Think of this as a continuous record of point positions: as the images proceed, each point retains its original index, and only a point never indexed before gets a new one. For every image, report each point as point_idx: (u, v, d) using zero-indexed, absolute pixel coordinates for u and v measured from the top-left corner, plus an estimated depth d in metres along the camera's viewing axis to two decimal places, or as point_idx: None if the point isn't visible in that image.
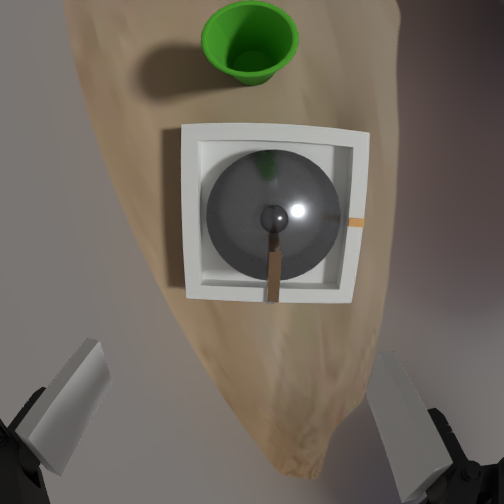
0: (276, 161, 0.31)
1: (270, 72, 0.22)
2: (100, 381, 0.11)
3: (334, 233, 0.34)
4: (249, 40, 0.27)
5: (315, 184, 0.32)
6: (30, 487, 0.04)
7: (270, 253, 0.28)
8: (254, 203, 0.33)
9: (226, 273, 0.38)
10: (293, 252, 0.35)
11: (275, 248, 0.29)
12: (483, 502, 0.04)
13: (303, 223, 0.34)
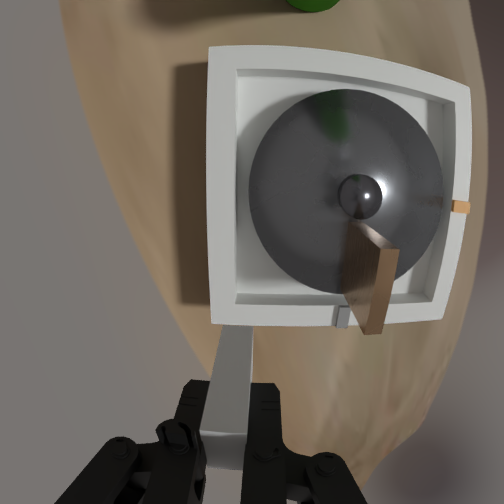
0: (361, 108, 0.18)
1: None
2: None
3: (435, 221, 0.20)
4: None
5: (414, 147, 0.18)
6: None
7: (381, 251, 0.14)
8: (328, 170, 0.19)
9: (274, 283, 0.24)
10: None
11: (383, 243, 0.15)
12: None
13: (398, 205, 0.20)
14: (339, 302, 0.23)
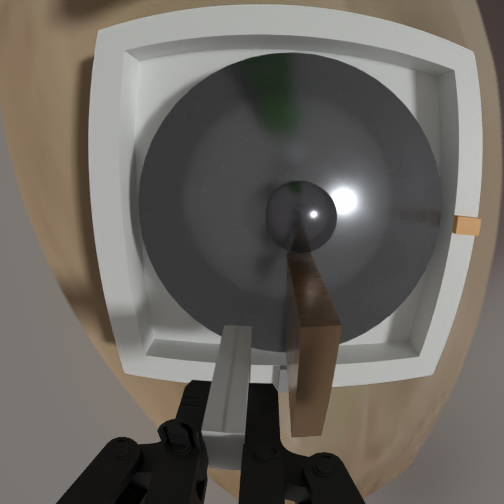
0: (296, 78, 0.11)
1: None
2: None
3: (429, 244, 0.14)
4: None
5: (390, 131, 0.12)
6: None
7: (303, 331, 0.08)
8: (248, 180, 0.13)
9: (197, 330, 0.18)
10: (345, 292, 0.15)
11: (317, 308, 0.09)
12: None
13: (368, 224, 0.13)
14: (282, 360, 0.17)
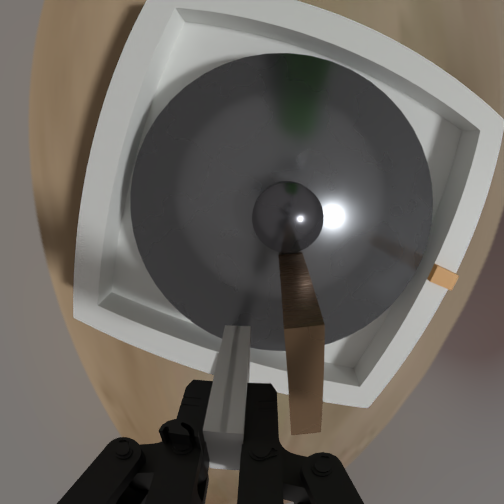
0: (271, 79, 0.12)
1: None
2: None
3: (423, 232, 0.13)
4: None
5: (372, 122, 0.12)
6: None
7: (287, 332, 0.08)
8: (233, 185, 0.13)
9: (154, 296, 0.18)
10: (340, 287, 0.15)
11: (302, 308, 0.09)
12: None
13: (357, 218, 0.13)
14: None
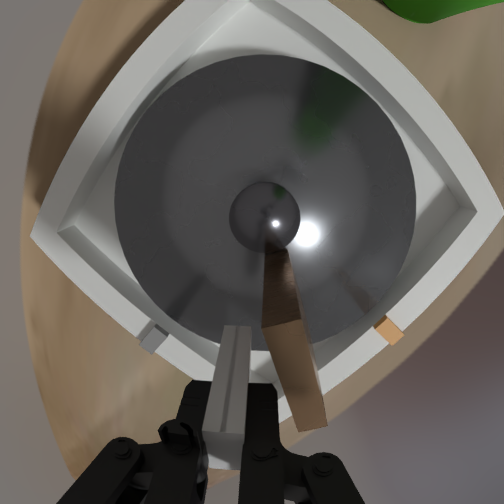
0: (225, 86, 0.12)
1: None
2: None
3: (409, 207, 0.13)
4: None
5: (333, 106, 0.12)
6: None
7: (266, 331, 0.08)
8: (208, 196, 0.14)
9: (111, 244, 0.17)
10: (333, 277, 0.15)
11: (281, 306, 0.09)
12: None
13: (337, 205, 0.13)
14: (161, 320, 0.17)
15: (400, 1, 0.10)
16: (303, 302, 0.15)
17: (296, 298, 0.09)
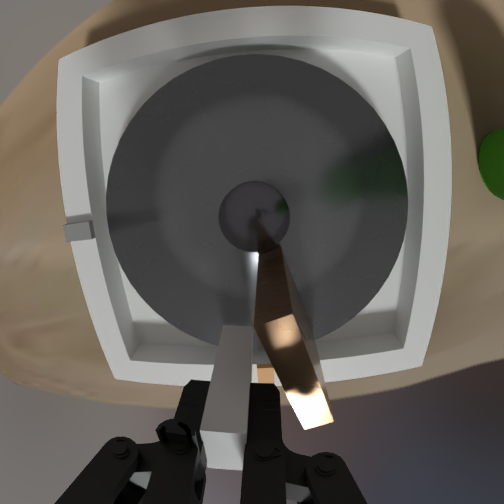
0: (204, 90, 0.12)
1: None
2: None
3: (400, 193, 0.13)
4: None
5: (313, 99, 0.12)
6: None
7: (258, 329, 0.08)
8: (197, 200, 0.14)
9: (113, 125, 0.14)
10: (330, 271, 0.14)
11: (273, 302, 0.09)
12: None
13: (326, 198, 0.13)
14: (97, 221, 0.15)
15: (492, 163, 0.13)
16: (302, 298, 0.15)
17: (288, 294, 0.09)
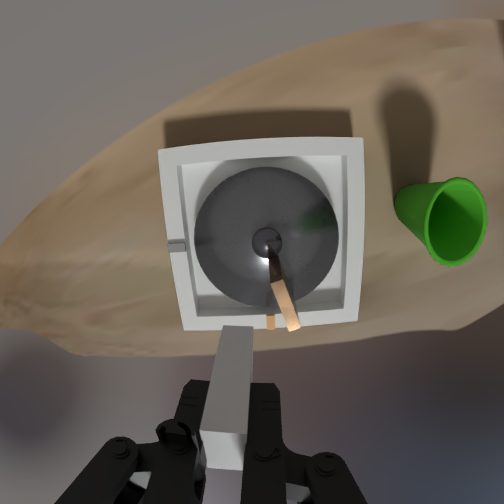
0: (244, 184, 0.29)
1: (427, 244, 0.23)
2: None
3: (334, 231, 0.31)
4: (439, 205, 0.30)
5: (294, 189, 0.30)
6: None
7: (271, 284, 0.26)
8: (241, 235, 0.31)
9: (192, 191, 0.32)
10: (301, 267, 0.32)
11: (276, 276, 0.27)
12: None
13: (298, 234, 0.31)
14: (186, 242, 0.32)
15: (398, 208, 0.31)
16: (288, 279, 0.33)
17: (281, 273, 0.27)
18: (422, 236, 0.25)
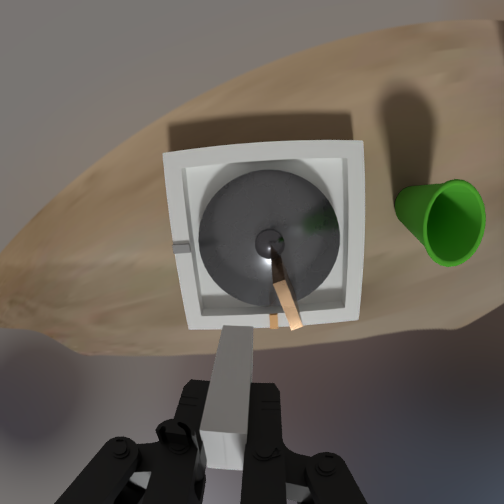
0: (247, 187, 0.30)
1: (425, 245, 0.24)
2: None
3: (336, 232, 0.31)
4: (439, 206, 0.30)
5: (296, 192, 0.30)
6: None
7: (274, 285, 0.27)
8: (244, 236, 0.32)
9: (196, 193, 0.33)
10: (303, 267, 0.33)
11: (278, 277, 0.27)
12: None
13: (300, 235, 0.32)
14: (191, 243, 0.33)
15: (398, 209, 0.32)
16: (290, 279, 0.33)
17: (283, 274, 0.28)
18: (421, 237, 0.25)
